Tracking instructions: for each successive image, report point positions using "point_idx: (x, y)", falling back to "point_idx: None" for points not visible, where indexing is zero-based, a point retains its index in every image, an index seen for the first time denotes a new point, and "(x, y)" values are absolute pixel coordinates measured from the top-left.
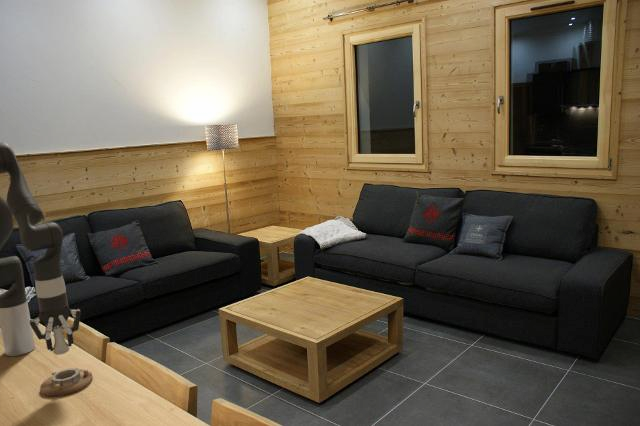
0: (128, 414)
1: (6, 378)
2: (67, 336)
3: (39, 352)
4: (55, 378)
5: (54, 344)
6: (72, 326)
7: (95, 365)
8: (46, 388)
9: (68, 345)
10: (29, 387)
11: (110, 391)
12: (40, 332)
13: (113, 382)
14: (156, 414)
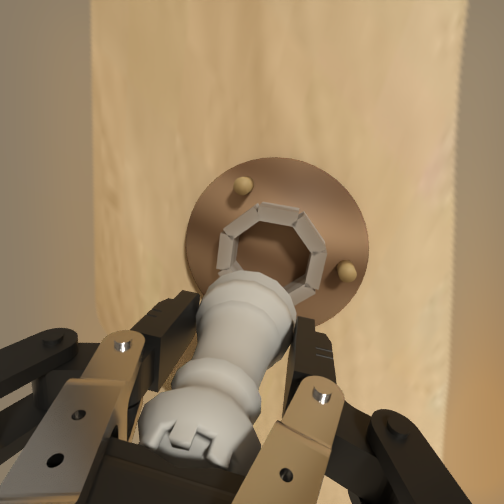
0: None
1: None
2: (282, 417)
3: None
4: (229, 264)
5: (200, 334)
6: (361, 456)
7: (426, 160)
8: (202, 257)
9: (288, 346)
10: (164, 161)
11: (360, 403)
12: (38, 373)
13: (397, 361)
14: None
